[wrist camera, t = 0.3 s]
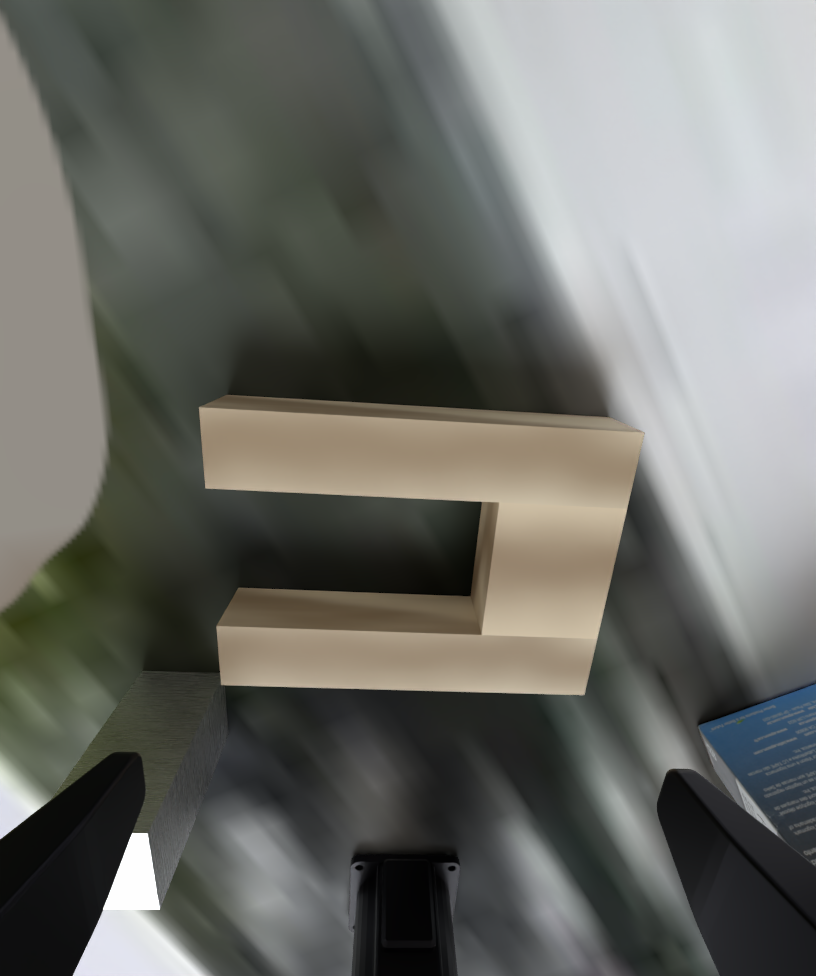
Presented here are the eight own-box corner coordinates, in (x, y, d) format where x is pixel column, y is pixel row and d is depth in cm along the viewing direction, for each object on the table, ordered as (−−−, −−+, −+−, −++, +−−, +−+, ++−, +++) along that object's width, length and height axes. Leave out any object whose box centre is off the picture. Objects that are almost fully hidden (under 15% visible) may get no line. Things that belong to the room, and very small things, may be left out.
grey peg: (228, 734, 25) (159, 909, 18) (151, 732, 25) (48, 909, 18) (223, 672, 24) (147, 833, 17) (142, 670, 24) (27, 832, 16)
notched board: (561, 651, 24) (584, 695, 21) (241, 641, 23) (221, 685, 21) (609, 417, 20) (644, 432, 18) (227, 394, 20) (198, 407, 17)
